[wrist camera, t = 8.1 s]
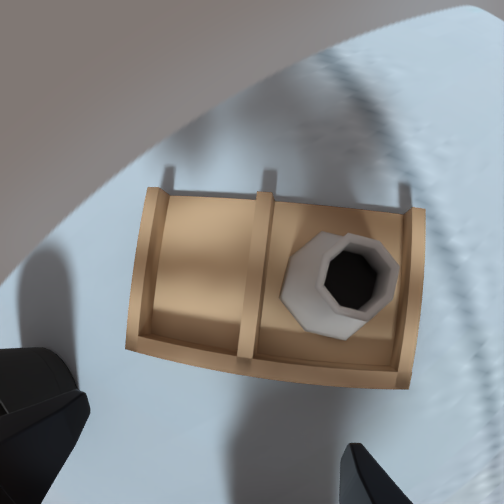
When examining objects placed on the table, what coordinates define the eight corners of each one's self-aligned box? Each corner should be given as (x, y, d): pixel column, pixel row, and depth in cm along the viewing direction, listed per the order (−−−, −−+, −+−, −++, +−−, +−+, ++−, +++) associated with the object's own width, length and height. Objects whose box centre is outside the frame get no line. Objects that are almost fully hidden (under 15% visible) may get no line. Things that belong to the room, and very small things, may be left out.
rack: (398, 379, 19) (408, 389, 17) (142, 344, 23) (125, 349, 20) (414, 218, 21) (426, 209, 18) (162, 197, 24) (147, 187, 22)
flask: (316, 214, 22) (324, 151, 12) (402, 269, 20) (470, 246, 10) (260, 301, 21) (224, 306, 12) (347, 357, 20) (380, 405, 10)
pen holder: (15, 374, 25) (-52, 384, 15) (46, 324, 25) (-34, 326, 15) (60, 443, 23) (-5, 472, 13) (99, 403, 23) (20, 435, 13)
